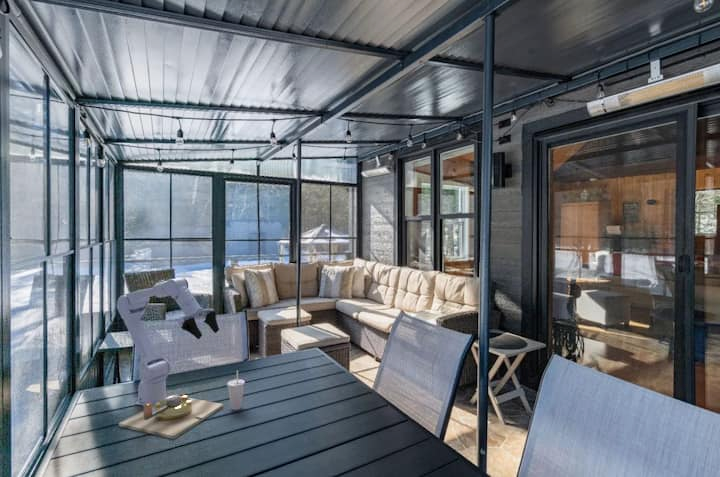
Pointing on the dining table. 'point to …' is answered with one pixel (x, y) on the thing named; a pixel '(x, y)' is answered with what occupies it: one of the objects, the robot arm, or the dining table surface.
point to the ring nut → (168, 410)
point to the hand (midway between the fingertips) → (208, 334)
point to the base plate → (172, 427)
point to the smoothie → (236, 392)
